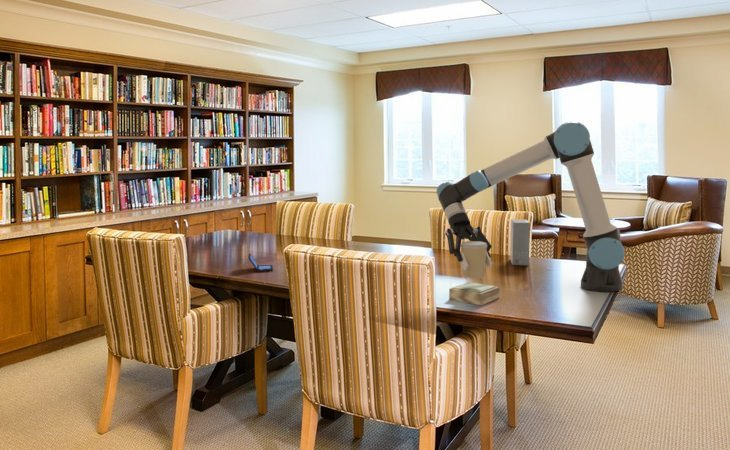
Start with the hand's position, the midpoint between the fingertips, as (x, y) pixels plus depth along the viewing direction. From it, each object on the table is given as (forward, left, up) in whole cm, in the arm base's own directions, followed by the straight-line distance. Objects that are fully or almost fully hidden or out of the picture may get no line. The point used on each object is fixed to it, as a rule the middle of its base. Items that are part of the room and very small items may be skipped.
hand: (478, 267), depth 210 cm
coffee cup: (+3, -2, -4) cm, 5 cm away
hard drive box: (+20, -74, -12) cm, 77 cm away
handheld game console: (+108, +11, -13) cm, 109 cm away
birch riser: (+2, -2, -12) cm, 12 cm away
